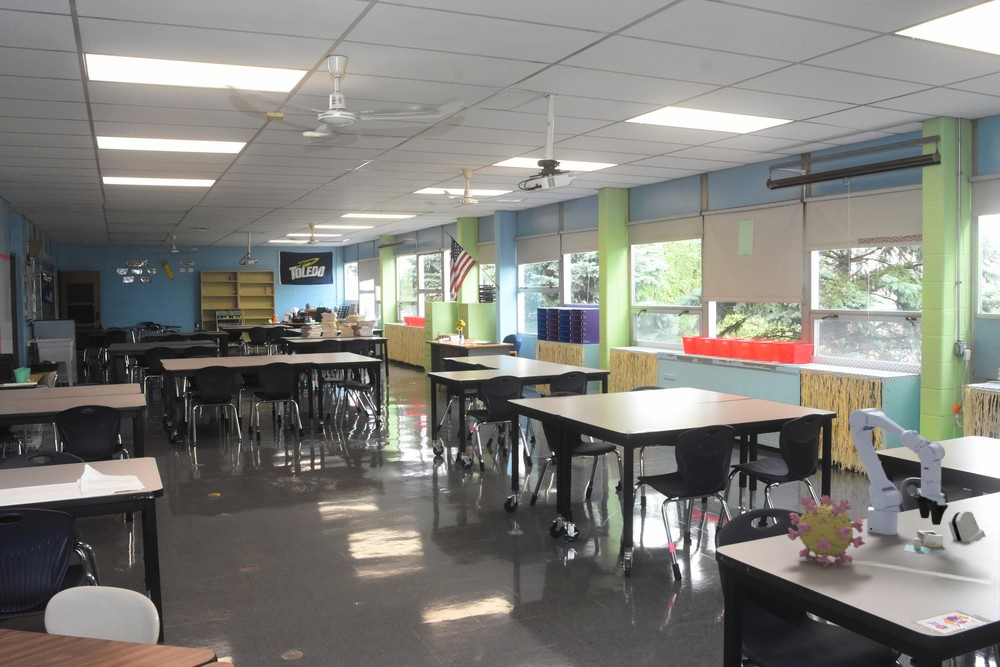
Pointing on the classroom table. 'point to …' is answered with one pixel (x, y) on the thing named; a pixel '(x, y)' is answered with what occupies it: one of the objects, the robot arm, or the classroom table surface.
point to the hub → (931, 545)
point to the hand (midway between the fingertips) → (930, 521)
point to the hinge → (965, 527)
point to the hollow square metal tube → (930, 537)
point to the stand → (917, 547)
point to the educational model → (825, 530)
